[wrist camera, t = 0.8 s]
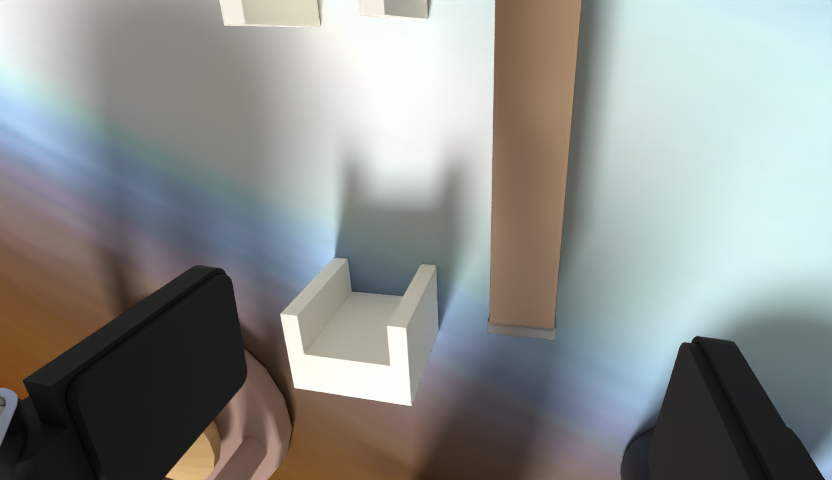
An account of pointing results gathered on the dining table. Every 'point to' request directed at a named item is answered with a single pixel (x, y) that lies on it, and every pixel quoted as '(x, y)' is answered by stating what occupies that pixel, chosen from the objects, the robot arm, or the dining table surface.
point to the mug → (637, 459)
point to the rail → (530, 160)
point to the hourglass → (242, 434)
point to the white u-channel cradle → (331, 289)
